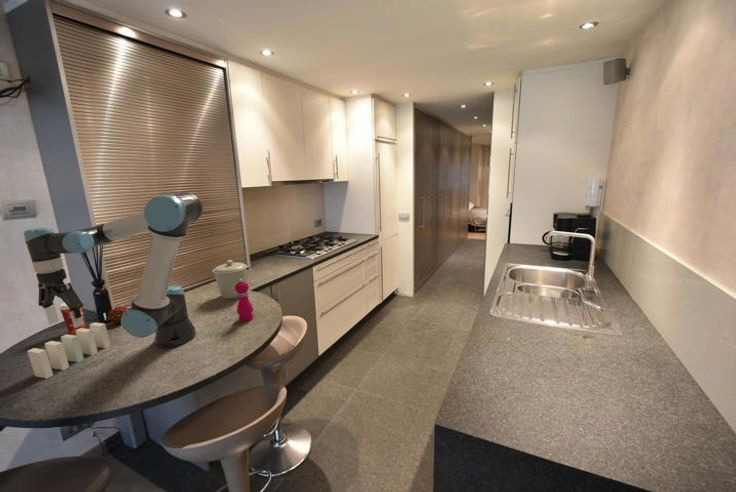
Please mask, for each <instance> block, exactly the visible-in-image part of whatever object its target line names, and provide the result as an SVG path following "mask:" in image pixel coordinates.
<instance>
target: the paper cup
mask: <svg viewBox="0 0 736 492" xmlns="http://www.w3.org/2000/svg"><path fill="white" fill-rule="evenodd" d="M58 309H59V310H60V313H61V315H62V317H63V320H64V323H65V326H66V328H67V330H68V333H69V334H68V335H75V336H76V335H77V334H76V330H78V329H80V328H83V329H86V322H85V318H84V313H83V307H81V308H80V313H81V316H82V320H83V323H84V324H83V325H81V326H78V327H76V328H75V327H74V325H73V321H72V318H71V315H70V312H69V310H70V308H69V307H68V306H67V305H66V304H65V302H64V303H61V304H60V305H59V308H58Z"/></svg>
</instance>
